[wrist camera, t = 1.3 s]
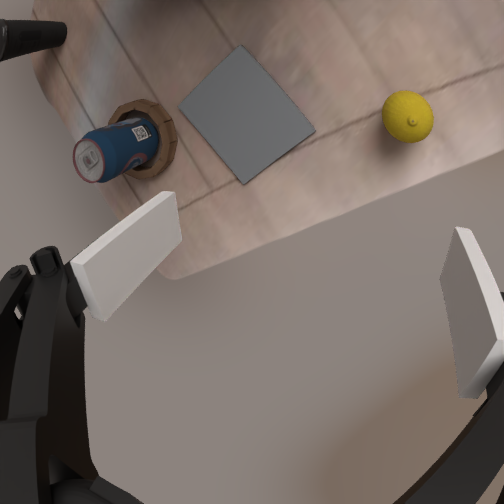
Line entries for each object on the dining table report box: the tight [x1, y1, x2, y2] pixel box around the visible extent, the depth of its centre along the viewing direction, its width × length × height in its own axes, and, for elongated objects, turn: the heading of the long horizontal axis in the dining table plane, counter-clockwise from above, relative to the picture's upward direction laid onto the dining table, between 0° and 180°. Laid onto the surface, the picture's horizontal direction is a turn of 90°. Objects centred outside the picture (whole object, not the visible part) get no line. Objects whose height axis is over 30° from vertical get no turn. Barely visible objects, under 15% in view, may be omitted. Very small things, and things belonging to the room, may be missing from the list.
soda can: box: [73, 117, 159, 183], centre depth 39 cm, size 7×7×12 cm
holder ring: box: [108, 99, 178, 179], centre depth 43 cm, size 12×12×2 cm
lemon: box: [382, 91, 434, 143], centre depth 28 cm, size 6×6×8 cm
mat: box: [178, 45, 316, 185], centre depth 37 cm, size 14×12×1 cm
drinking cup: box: [0, 19, 67, 62], centre depth 30 cm, size 8×8×20 cm
